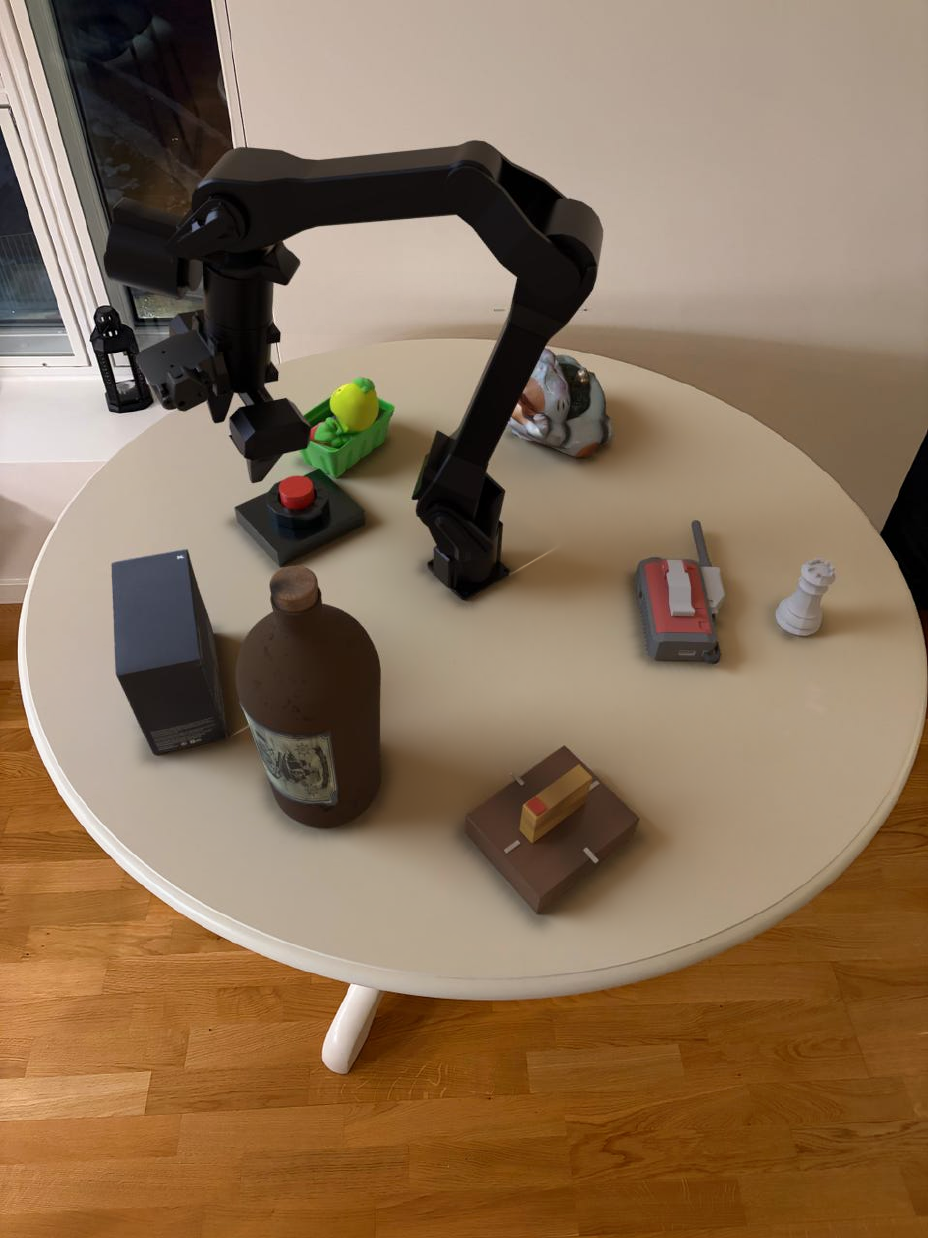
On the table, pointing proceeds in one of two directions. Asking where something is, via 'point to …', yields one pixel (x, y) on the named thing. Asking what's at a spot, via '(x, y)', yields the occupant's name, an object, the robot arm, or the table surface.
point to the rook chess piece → (806, 599)
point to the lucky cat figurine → (563, 407)
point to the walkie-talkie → (680, 604)
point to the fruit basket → (346, 427)
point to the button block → (300, 520)
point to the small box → (166, 652)
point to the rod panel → (549, 832)
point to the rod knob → (555, 803)
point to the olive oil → (313, 703)
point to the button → (296, 492)
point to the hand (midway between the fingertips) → (236, 450)
